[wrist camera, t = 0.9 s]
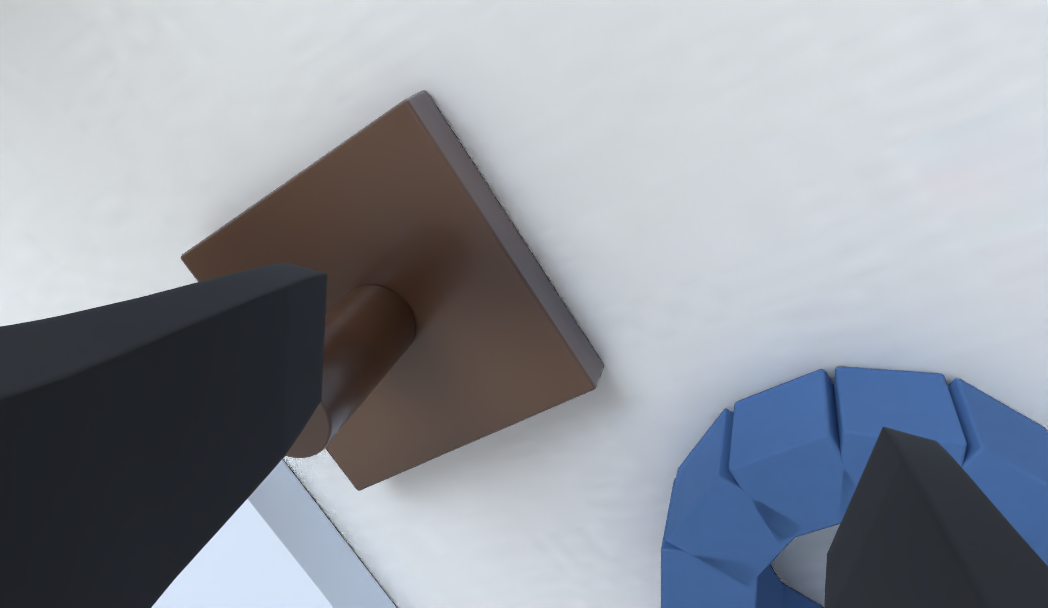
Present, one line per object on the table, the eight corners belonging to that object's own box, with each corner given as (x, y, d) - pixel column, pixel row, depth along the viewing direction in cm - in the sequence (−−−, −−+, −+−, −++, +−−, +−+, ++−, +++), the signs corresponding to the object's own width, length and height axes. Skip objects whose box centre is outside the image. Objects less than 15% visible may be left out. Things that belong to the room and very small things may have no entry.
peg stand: (605, 365, 21) (552, 508, 16) (375, 467, 25) (273, 610, 20) (425, 88, 19) (303, 153, 14) (205, 241, 23) (45, 336, 18)
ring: (1153, 629, 20) (1204, 730, 18) (777, 707, 24) (777, 796, 22) (987, 302, 18) (1019, 365, 15) (607, 450, 22) (585, 518, 20)
